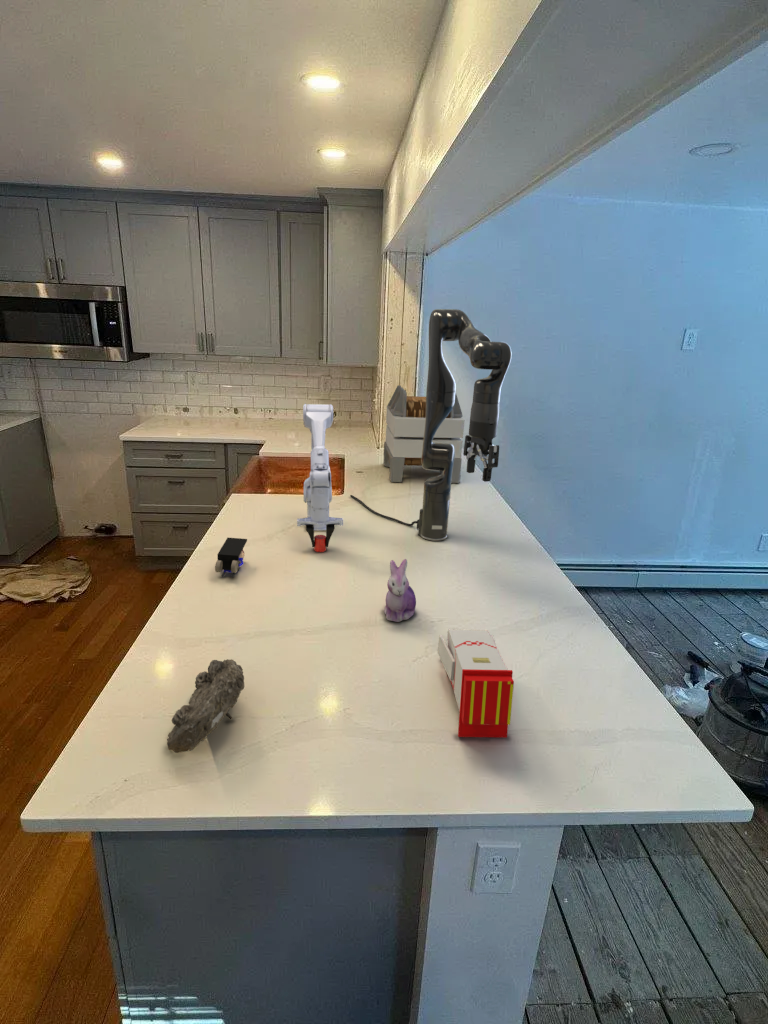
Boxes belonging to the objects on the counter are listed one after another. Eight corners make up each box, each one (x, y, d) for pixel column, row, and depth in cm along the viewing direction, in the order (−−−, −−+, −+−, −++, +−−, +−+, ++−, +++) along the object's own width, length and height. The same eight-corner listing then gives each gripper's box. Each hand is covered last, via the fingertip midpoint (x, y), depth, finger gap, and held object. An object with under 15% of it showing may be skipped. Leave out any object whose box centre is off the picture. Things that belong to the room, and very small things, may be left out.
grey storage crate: (382, 463, 289) (386, 382, 275) (445, 464, 293) (451, 384, 279) (390, 482, 257) (394, 392, 243) (460, 483, 261) (468, 394, 247)
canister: (318, 553, 181) (318, 540, 180) (311, 549, 184) (311, 536, 183) (328, 550, 184) (328, 537, 182) (322, 546, 186) (322, 533, 185)
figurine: (392, 627, 141) (395, 572, 136) (374, 608, 149) (376, 556, 144) (425, 619, 145) (429, 566, 140) (405, 601, 154) (408, 550, 149)
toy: (488, 613, 130) (523, 677, 101) (484, 667, 133) (517, 744, 104) (435, 612, 130) (455, 676, 101) (432, 666, 133) (451, 743, 103)
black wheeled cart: (238, 584, 162) (249, 557, 175) (236, 562, 158) (247, 536, 172) (215, 584, 161) (227, 556, 175) (212, 561, 158) (225, 535, 171)
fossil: (192, 660, 117) (244, 628, 112) (224, 691, 120) (276, 661, 115) (142, 746, 98) (202, 712, 93) (182, 779, 101) (242, 748, 96)
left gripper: (297, 510, 174) (297, 551, 179) (344, 510, 176) (343, 550, 181) (296, 503, 181) (297, 542, 185) (342, 502, 183) (341, 541, 187)
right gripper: (458, 414, 157) (453, 470, 163) (486, 424, 145) (479, 485, 150) (482, 413, 160) (476, 469, 165) (511, 423, 147) (503, 483, 153)
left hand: (320, 545), depth 183 cm, fingers closed on canister, 4 cm apart
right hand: (478, 476), depth 158 cm, fingers open, 8 cm apart
